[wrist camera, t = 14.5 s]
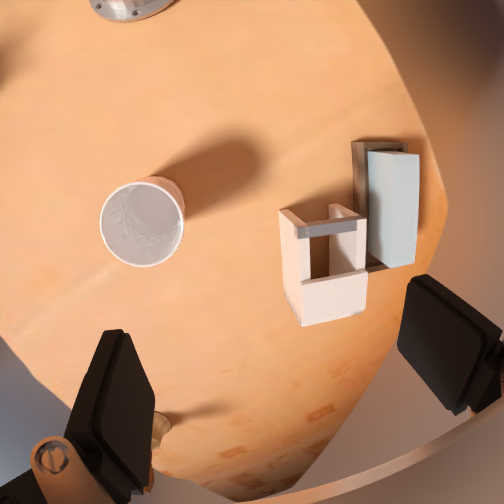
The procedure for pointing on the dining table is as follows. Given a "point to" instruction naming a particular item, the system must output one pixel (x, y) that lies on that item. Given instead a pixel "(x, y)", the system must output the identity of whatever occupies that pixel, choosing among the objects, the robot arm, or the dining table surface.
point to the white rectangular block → (393, 206)
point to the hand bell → (157, 441)
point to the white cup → (144, 221)
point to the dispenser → (340, 265)
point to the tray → (362, 187)
